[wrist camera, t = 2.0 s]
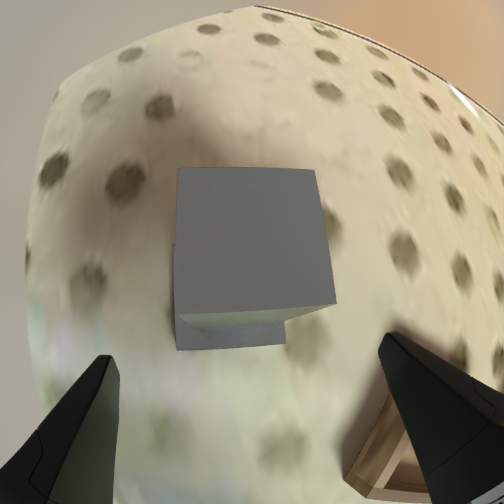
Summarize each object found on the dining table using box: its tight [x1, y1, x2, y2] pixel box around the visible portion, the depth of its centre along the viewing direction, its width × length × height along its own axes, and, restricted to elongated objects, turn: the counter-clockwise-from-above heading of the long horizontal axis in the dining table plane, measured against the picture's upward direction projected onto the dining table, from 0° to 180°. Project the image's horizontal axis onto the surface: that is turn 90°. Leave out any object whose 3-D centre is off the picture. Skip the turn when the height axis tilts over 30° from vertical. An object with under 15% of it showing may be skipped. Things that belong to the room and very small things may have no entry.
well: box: [344, 392, 432, 503], centre depth 16 cm, size 11×11×4 cm
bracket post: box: [173, 167, 337, 351], centre depth 14 cm, size 7×7×12 cm
